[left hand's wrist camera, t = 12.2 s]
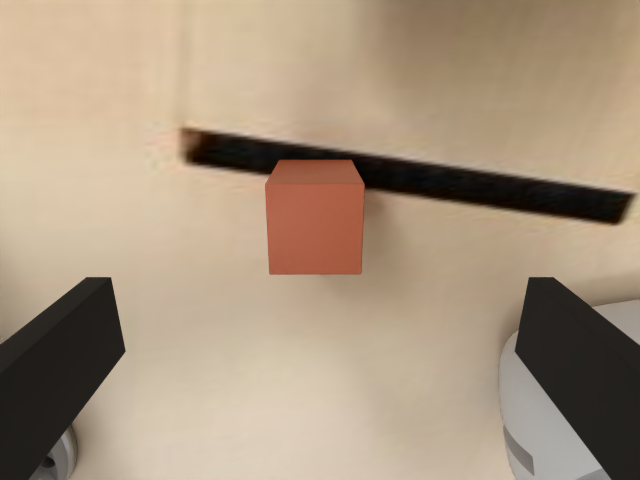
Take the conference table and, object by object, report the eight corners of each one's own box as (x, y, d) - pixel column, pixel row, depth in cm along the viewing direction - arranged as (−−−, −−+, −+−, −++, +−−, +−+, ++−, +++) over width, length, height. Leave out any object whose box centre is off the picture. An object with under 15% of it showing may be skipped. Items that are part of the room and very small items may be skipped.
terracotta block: (349, 228, 29) (361, 274, 22) (281, 228, 29) (269, 275, 22) (351, 159, 28) (364, 183, 20) (279, 159, 28) (265, 184, 20)
